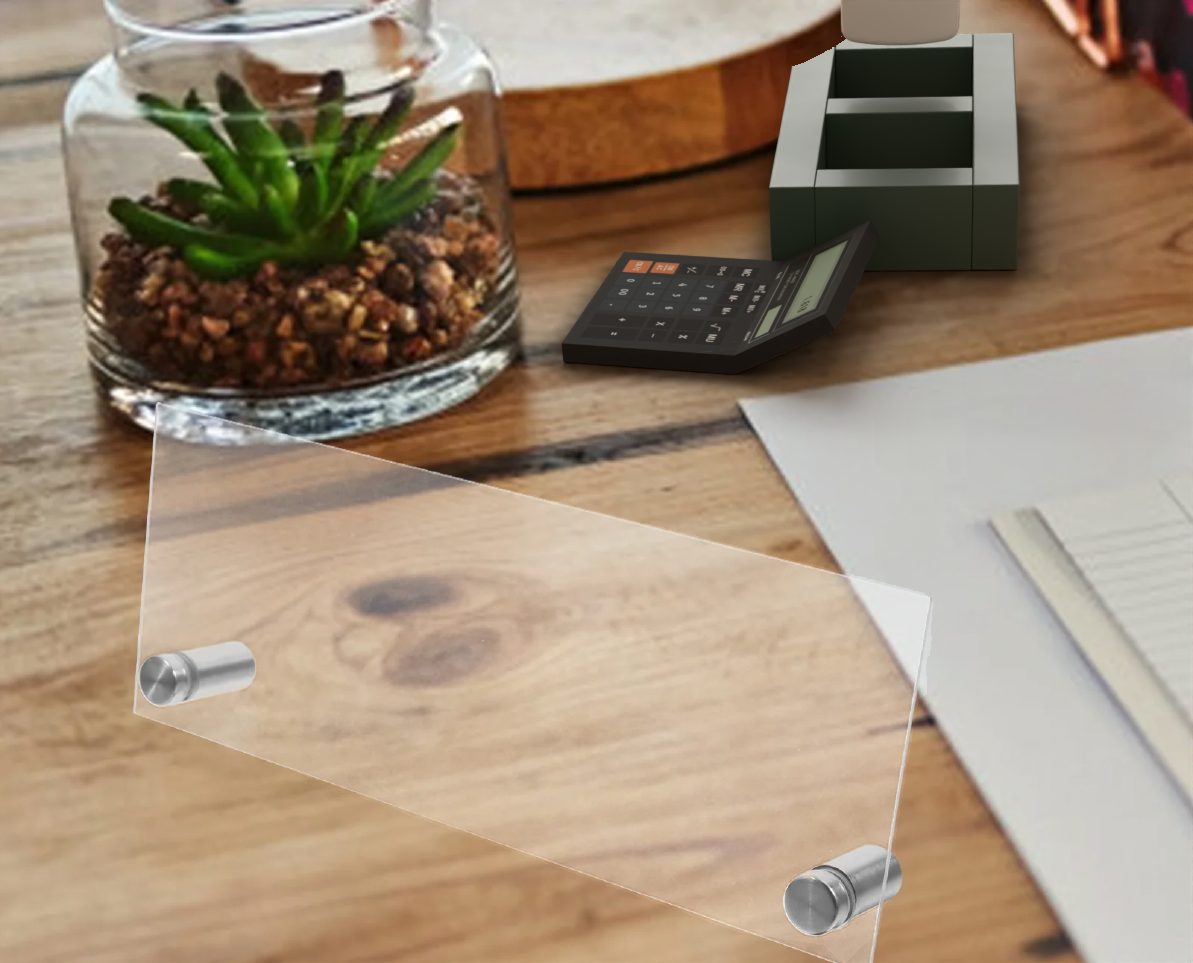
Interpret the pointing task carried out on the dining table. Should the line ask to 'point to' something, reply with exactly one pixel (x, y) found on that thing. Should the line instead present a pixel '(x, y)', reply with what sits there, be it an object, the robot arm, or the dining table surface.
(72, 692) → the dining table surface
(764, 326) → the calculator
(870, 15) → the eye dropper bottle
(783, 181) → the rack
